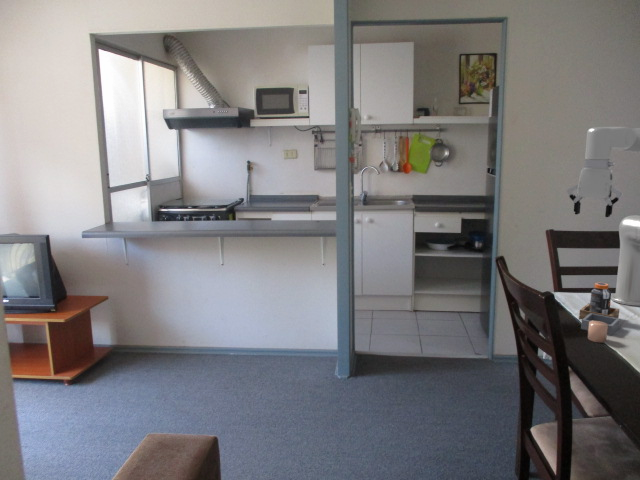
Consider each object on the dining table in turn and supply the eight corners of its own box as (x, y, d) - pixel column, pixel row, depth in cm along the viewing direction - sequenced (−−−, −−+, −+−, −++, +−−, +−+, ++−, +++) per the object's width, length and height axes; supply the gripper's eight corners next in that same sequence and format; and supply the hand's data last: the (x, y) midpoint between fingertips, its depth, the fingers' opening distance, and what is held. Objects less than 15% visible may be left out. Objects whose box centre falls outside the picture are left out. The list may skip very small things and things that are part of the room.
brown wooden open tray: (587, 312, 188) (588, 303, 187) (618, 318, 181) (619, 309, 181) (579, 319, 181) (579, 310, 180) (610, 325, 174) (611, 316, 174)
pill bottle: (611, 319, 177) (614, 286, 175) (591, 318, 178) (594, 285, 176) (605, 313, 183) (608, 281, 181) (586, 313, 184) (589, 280, 182)
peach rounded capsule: (590, 335, 167) (592, 319, 166) (608, 339, 163) (609, 323, 162) (585, 339, 163) (586, 323, 162) (603, 343, 160) (605, 327, 159)
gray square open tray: (589, 321, 178) (590, 312, 178) (618, 327, 173) (620, 317, 172) (580, 328, 172) (581, 318, 171) (611, 335, 166) (612, 325, 165)
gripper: (628, 165, 179) (623, 216, 182) (573, 163, 190) (569, 211, 193) (622, 166, 173) (617, 219, 177) (566, 164, 185) (562, 214, 188)
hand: (592, 215), depth 185 cm, fingers open, 9 cm apart
